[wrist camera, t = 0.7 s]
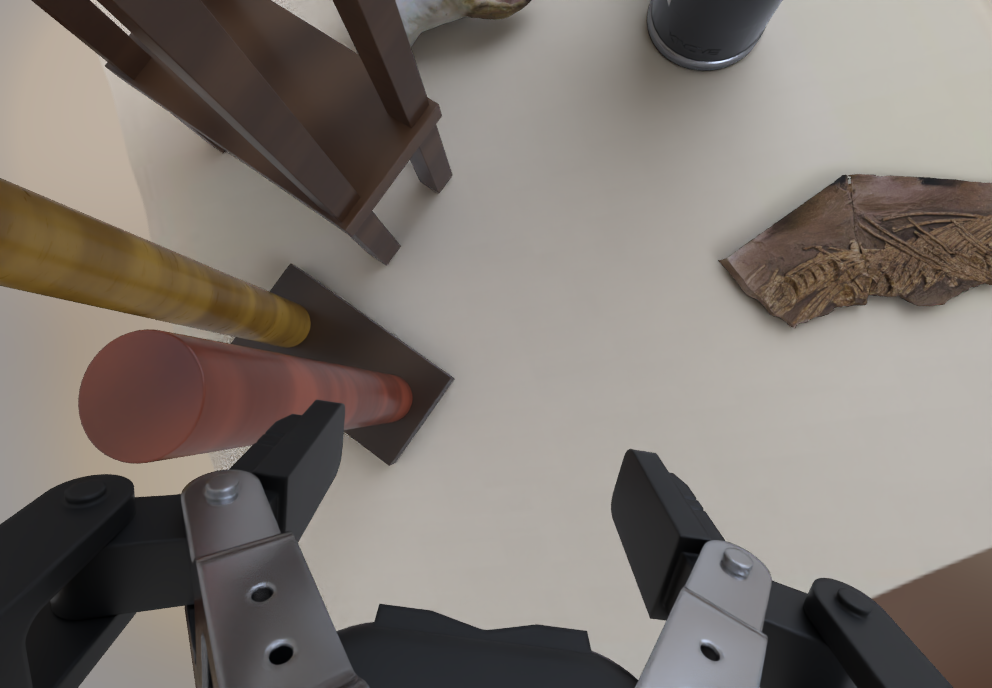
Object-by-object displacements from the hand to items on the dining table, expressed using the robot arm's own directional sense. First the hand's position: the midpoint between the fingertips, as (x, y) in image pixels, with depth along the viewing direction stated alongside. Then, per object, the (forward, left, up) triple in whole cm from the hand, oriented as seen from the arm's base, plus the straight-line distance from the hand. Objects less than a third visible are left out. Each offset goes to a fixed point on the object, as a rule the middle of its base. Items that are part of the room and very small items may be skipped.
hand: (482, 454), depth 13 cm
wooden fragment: (-25, +21, -23) cm, 40 cm away
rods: (+1, -14, -23) cm, 27 cm away
